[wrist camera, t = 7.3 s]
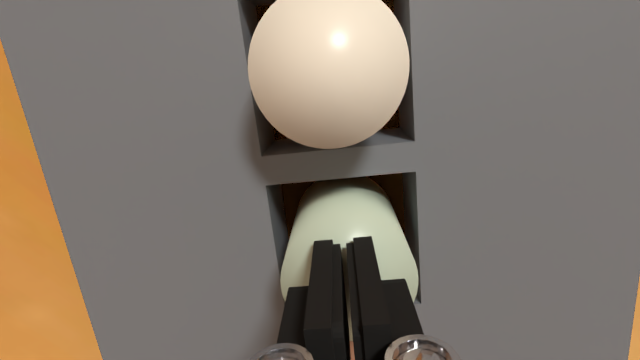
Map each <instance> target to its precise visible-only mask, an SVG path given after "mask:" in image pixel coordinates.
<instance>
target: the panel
mask: <svg viewBox="0 0 640 360" xmlns="http://www.w3.org/2000/svg"><path fill="white" fill-rule="evenodd" d="M275 1H277V0H0V39H1V42H2V45H3V48H4V51H5V54H6V57H7V61H8V64H9V67H10V70H11V73H12V76H13V79H14V83H15V86H16V89H17V92H18V95H19V98H20V101H21V104H22V108H23V111H24V114H25V117H26V120H27V123H28V126H29V130H30V133H31V136H32V139H33V142H34V145H35V148H36V151H37V155H38V158H39V161H40V164H41V167H42V170H43V173H44V177H45V180H46V183H47V186H48V189H49V192H50V195H51V198H52V202H53V205H54V208H55V211H56V214H57V217H58V220H59V224H60V227H61V230H62V233H63V236H64V239H65V242H66V245H67V249H68V252H69V255H70V258H71V261H72V264H73V267H74V271H75V274H76V277H77V280H78V283H79V286H80V289H81V292H82V296H83V299H84V302H85V305H86V308H87V311H88V314H89V318H90V321H91V324H92V327H93V330H94V333H95V336H96V339H97V343H98V346H99V349H100V352H101V355H102V358H103V360H249V359H250V358H251V357H252V356H253V355H255V354H256V353H257V352H258V351H260V350H262V349H264V348H266V347H268V346H271V345H275V344H277V339H278V334H279V330H280V325H281V320H282V315H283V311H284V306H285V301H284V298H283V295H282V291H281V282H280V279H281V270H282V265H283V261H284V258H285V254H286V250H287V246H288V242H289V236H288V229H287V222H286V215H285V208H284V201H283V194H282V187H281V184H287V183H298V182H309V181H320V180H330V179H341V178H352V177H363V176H373V175H384V174H395V173H402V186H403V205H404V225H405V238H406V241H407V243H408V246H409V248H410V250H411V253H412V255H413V258H414V260H415V263H416V266H417V270H418V290H417V295H416V298H415V300H414V306H415V309H416V312H417V315H418V318H419V321H420V324H421V327H422V330H423V333H424V335H429V336H433V337H436V338H438V339H441V340H443V341H444V342H446V343H448V344H449V345H451V347H452V348H453V349H454V350H455V351H456V352H457V353H458V355H459V356H460V358H461V359H462V360H628V354H629V347H630V340H631V333H632V325H633V318H634V311H635V304H636V297H637V289H638V282H639V275H640V0H393V6H394V15H395V17H396V18H397V20H398V22H399V24H400V26H401V27H402V30H403V33H404V35H405V38H406V42H407V46H408V51H409V60H410V61H409V77H408V83H407V87H406V90H405V93H404V96H403V98H402V101H401V103H400V105H399V126H400V127H399V128H389V129H380V130H379V131H377V132H376V133H375V134H374V135H372V136H370V137H369V138H367V139H365V140H363V141H361V142H359V143H357V144H354V145H351V146H347V147H342V148H336V149H321V148H314V147H309V146H305V145H303V144H300V143H297V142H295V141H293V140H291V139H280V140H275V138H274V131H273V126H272V125H271V124H270V122H269V121H268V120H267V119H266V118H265V116H264V115H263V113H262V112H261V110H260V109H259V107H258V105H257V103H256V101H255V99H254V96H253V93H252V90H251V87H250V82H249V76H248V54H249V48H250V43H251V40H252V37H253V34H254V32H255V29H256V27H257V25H258V18H257V11H256V6H261V5H270V4H273V3H274V2H275Z"/></svg>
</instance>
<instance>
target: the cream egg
mask: <svg viewBox="0 0 640 360" xmlns="http://www.w3.org/2000/svg"><path fill="white" fill-rule="evenodd" d="M409 61H410V60H409V51H408V46H407V42H406V38H405V35H404V33H403V30H402V27H401V26H400V24H399V22H398V20H397V18H396V17H395V15H394V14H393V13H392V11H391V10H390V9H389V8H388V7H387V5H386V4H385V3H384V2H383V1H382V0H277V1H275V2H274V3H273V4H272V5H271V6H270V7H269V9H268V10H267V11H266V12H265V14H264V15H263V16H262V18H261V20H260V21H259V23H258V25H257V27H256V29H255V32H254V34H253V37H252V40H251V43H250V48H249V54H248V76H249V82H250V87H251V90H252V93H253V96H254V99H255V101H256V103H257V105H258V107H259V109H260V110H261V112H262V113H263V115H264V116H265V118H266V119H267V120H268V121H269V122H270V124H271V125H272V126H273V127H275V128H276V129H277V130H278V131H279V132H280V133H282V134H283V135H285V136H286V137H287V138H289V139H291V140H293V141H295V142H297V143H300V144H303V145H305V146H309V147H314V148H321V149H336V148H342V147H347V146H351V145H354V144H357V143H359V142H361V141H363V140H365V139H367V138H369V137H370V136H372V135H374V134H375V133H376V132H377V131H379V130H380V129H381V128H382V127H383V126H384V125H385V124H386V123H387V122H388V121H389V120H390V118H391V117H392V116H393V114H394V113H395V112H396V110H397V108H398V106H399V105H400V103H401V101H402V98H403V96H404V93H405V90H406V87H407V83H408V77H409Z"/></svg>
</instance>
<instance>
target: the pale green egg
mask: <svg viewBox="0 0 640 360" xmlns="http://www.w3.org/2000/svg"><path fill="white" fill-rule="evenodd" d="M367 236H372V240H373V245H374V249H375V254H376V258H377V263H378V267H379V272H380V276H381V280H391V279H405V280H406V282H407V285H408V288H409V291H410V294H411V297H412V300H413V303H414V300H415V298H416V295H417V290H418V270H417V266H416V263H415V260H414V258H413V255H412V253H411V250H410V248H409V246H408V243H407V241H406V238H405V236H404V234H403V231H402V229H401V226H400V224H399V222H398V219H397V217H396V214H395V212H394V210H393V207H392V205H391V202H390V200H389V198H388V196H387V194H386V193H385V191H384V190H383V189H382V188H381V187H380V186H379V185H378V184H377V183H376V182H375V181H373V180H372V179H370V178H368V177H366V176H363V177H352V178H341V179H330V180H320V181H315V182H314V183H313V184H312V185H311V186H310V187H309V188H308V189H307V190H306V191H305V193H304V194H303V196H302V198H301V199H300V202H299V205H298V208H297V212H296V216H295V220H294V223H293V227H292V231H291V235H290V239H289V242H288V246H287V250H286V254H285V258H284V261H283V265H282V270H281V279H280V282H281V291H282V295H283V298H284V301H286V296H287V292H288V288H289V287H298V286H309V278H310V270H311V261H312V253H313V245H314V241H319V240H331V239H333V244H340V246H341V255H342V265H343V275H344V285H345V294H346V304H347V314H348V324H349V337H350V341H353V336H352V324H351V310H350V294H349V279H348V264H347V249H346V243H353V238H355V237H367Z"/></svg>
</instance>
